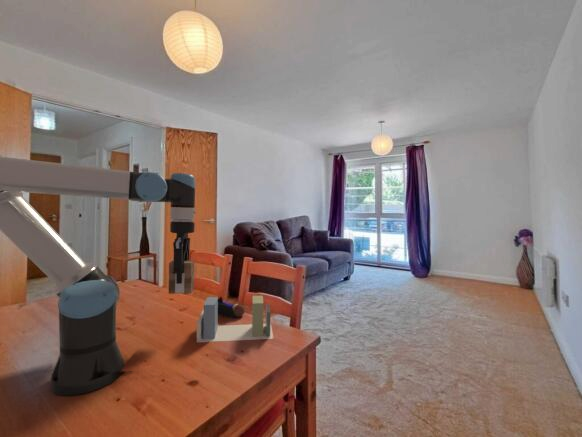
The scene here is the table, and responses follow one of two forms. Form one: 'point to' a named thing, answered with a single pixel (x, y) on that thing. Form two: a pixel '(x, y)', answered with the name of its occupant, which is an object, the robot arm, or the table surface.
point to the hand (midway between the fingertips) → (181, 290)
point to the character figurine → (230, 309)
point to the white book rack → (230, 332)
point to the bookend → (267, 319)
